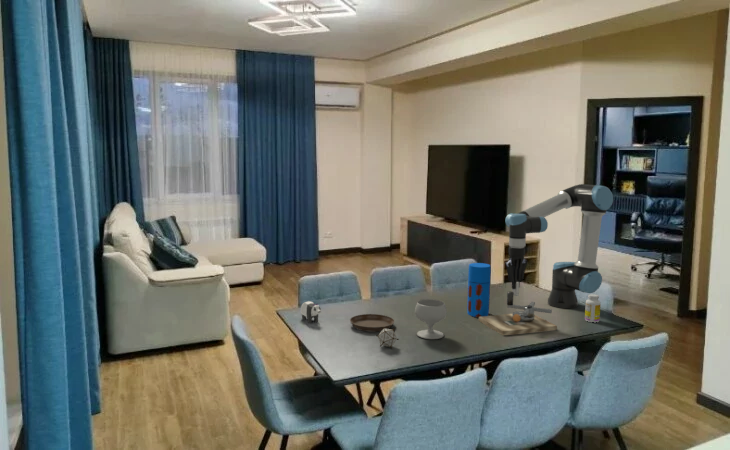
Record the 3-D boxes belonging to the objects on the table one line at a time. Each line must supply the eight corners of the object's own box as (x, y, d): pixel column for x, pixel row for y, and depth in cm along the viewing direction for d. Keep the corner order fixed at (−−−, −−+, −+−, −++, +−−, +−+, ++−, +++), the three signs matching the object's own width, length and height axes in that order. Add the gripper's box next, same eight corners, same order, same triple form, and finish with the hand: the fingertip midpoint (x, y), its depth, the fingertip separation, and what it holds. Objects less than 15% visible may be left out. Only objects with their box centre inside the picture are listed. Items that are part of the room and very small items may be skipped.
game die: (382, 354, 231) (374, 331, 235) (401, 346, 231) (393, 324, 235) (381, 350, 222) (372, 327, 226) (400, 343, 223) (391, 320, 227)
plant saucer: (372, 317, 270) (372, 310, 269) (403, 327, 255) (403, 320, 255) (340, 326, 256) (340, 319, 255) (372, 337, 241) (372, 330, 240)
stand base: (529, 316, 273) (529, 311, 272) (556, 330, 252) (557, 325, 252) (478, 320, 265) (478, 316, 264) (502, 335, 244) (503, 330, 244)
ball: (517, 320, 258) (518, 312, 257) (522, 322, 254) (522, 315, 254) (510, 320, 257) (511, 313, 256) (515, 323, 253) (515, 315, 253)
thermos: (489, 317, 269) (491, 268, 266) (466, 316, 271) (468, 266, 268) (488, 311, 280) (490, 263, 276) (467, 310, 282) (468, 262, 279)
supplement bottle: (599, 320, 267) (601, 294, 266) (599, 323, 261) (601, 297, 260) (584, 318, 270) (586, 292, 268) (584, 321, 264) (585, 295, 262)
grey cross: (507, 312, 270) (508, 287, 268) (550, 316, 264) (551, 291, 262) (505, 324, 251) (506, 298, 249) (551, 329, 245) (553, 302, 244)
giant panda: (299, 318, 266) (299, 299, 265) (310, 316, 269) (310, 297, 268) (314, 326, 254) (314, 306, 253) (324, 324, 257) (324, 304, 256)
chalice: (438, 343, 234) (439, 308, 232) (408, 336, 241) (409, 303, 239) (451, 333, 246) (452, 301, 244) (422, 328, 253) (423, 296, 251)
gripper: (520, 244, 266) (518, 291, 269) (501, 246, 259) (499, 295, 262) (532, 246, 259) (530, 294, 263) (513, 249, 253) (511, 299, 256)
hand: (515, 295), depth 262 cm, fingers closed
